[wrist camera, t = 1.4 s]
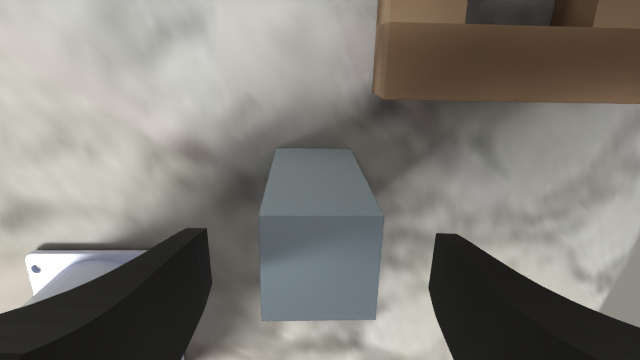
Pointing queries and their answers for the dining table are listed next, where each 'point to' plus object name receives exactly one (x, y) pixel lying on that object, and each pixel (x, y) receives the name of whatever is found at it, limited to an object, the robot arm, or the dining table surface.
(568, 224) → the dining table surface
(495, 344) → the robot arm
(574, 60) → the plate
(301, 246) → the long peg
